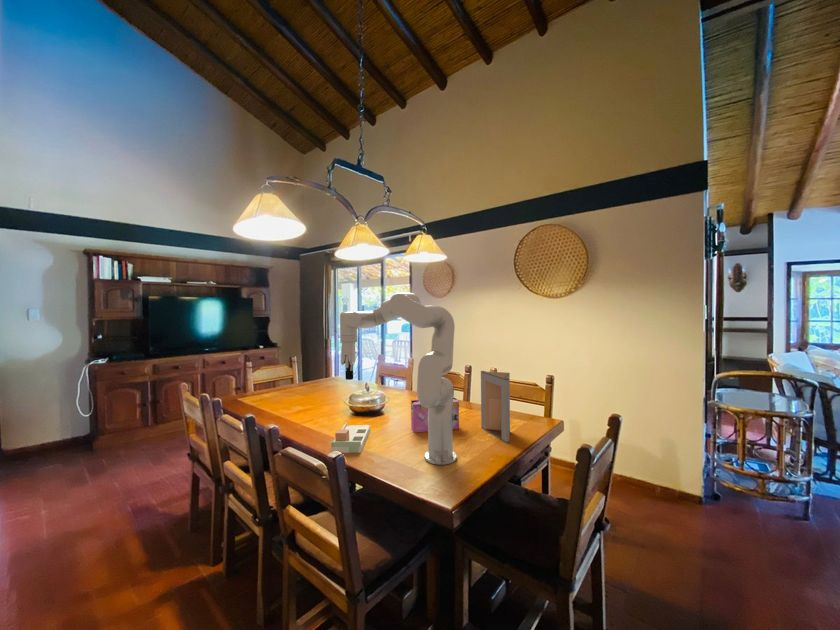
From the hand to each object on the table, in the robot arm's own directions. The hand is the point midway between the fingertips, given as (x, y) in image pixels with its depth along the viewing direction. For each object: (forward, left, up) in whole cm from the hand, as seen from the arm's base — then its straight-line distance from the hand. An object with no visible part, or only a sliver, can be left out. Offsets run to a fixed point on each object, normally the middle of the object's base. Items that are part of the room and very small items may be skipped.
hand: (349, 379), depth 158 cm
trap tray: (-3, -2, -27) cm, 27 cm away
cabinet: (+4, -70, -27) cm, 75 cm away
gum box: (+12, -39, -27) cm, 49 cm away
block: (-11, +1, -25) cm, 27 cm away
